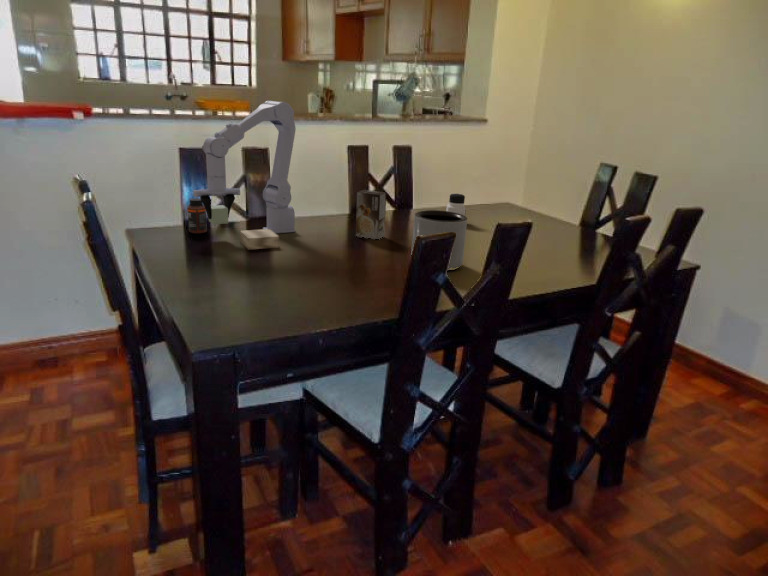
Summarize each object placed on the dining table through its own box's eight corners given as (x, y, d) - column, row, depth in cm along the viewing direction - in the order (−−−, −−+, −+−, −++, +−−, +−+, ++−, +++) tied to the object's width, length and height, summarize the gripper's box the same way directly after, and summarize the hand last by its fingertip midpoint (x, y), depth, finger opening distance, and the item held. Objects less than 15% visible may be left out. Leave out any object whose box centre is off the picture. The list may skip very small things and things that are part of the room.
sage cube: (223, 219, 188) (223, 205, 186) (228, 223, 184) (227, 208, 182) (208, 220, 185) (208, 205, 184) (213, 224, 182) (212, 209, 180)
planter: (433, 255, 184) (437, 207, 178) (472, 267, 173) (478, 217, 168) (399, 263, 173) (403, 213, 168) (439, 276, 162) (444, 223, 157)
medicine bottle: (464, 225, 227) (467, 196, 223) (446, 224, 227) (449, 195, 223) (462, 221, 234) (465, 193, 230) (445, 220, 234) (447, 192, 230)
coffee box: (385, 236, 202) (387, 192, 197) (378, 240, 197) (380, 194, 191) (361, 233, 206) (363, 189, 200) (354, 236, 200) (356, 191, 195)
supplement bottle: (209, 230, 196) (208, 198, 192) (202, 234, 190) (201, 201, 186) (193, 229, 196) (191, 196, 192) (185, 233, 191) (183, 200, 187)
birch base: (269, 240, 190) (269, 229, 188) (279, 248, 181) (279, 236, 180) (240, 242, 185) (239, 230, 184) (248, 250, 177) (248, 238, 175)
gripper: (196, 178, 173) (199, 221, 177) (242, 177, 180) (243, 218, 185) (190, 175, 178) (193, 217, 183) (235, 173, 186) (237, 214, 190)
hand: (218, 217), depth 184 cm, fingers closed on sage cube, 5 cm apart
